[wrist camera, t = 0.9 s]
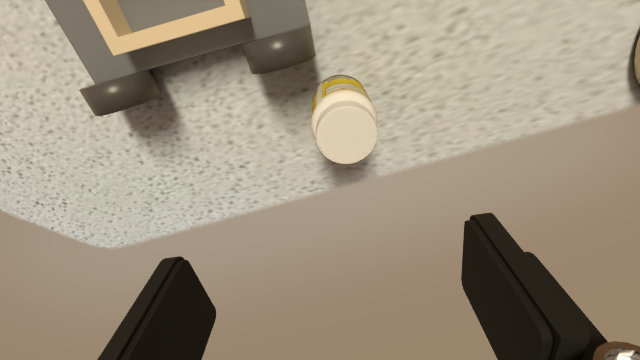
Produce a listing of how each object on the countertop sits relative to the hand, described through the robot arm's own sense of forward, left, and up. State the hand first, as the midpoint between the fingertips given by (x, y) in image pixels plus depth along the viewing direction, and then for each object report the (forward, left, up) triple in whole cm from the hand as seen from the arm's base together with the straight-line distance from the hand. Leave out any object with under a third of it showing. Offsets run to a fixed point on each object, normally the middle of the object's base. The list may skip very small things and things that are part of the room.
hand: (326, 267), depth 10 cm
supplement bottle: (-1, 0, -19) cm, 19 cm away
